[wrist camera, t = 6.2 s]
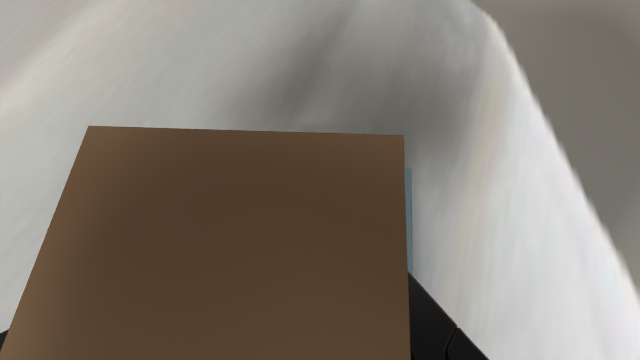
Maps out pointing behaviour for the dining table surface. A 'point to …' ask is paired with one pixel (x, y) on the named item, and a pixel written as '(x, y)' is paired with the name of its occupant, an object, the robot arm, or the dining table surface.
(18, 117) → the dining table surface
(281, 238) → the wooden square peg
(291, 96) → the dining table surface
